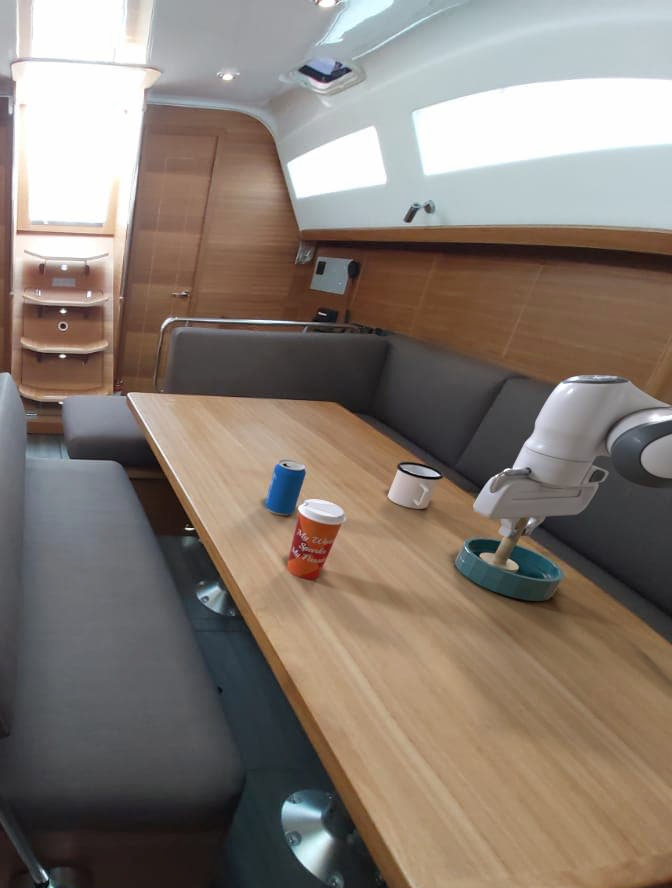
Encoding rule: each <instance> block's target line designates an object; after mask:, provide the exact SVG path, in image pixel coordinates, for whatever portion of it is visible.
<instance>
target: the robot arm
mask: <svg viewBox="0 0 672 888" xmlns="http://www.w3.org/2000/svg"><path fill="white" fill-rule="evenodd" d="M601 456H602V457H603V456H604V457H609V458H611V463H612V466H613V468H614V470H615V471H616V472H617V474H619V476H621V477H622V478H623V479H625V480H626V481H628V482H630V483H633V484H635V485H638V486H642V487H647V488H651V489H672V405H671V404H668V403H666V402H663V401H661V400H658V399H656V398H655V397H653V396H652V395H650V394H648V393H646V392H644V391H643V390H641V389H640V388H638V387H637V386H636V385H634V384H633V383H632V381H631V380H630V379H629V378H626V377H623V376H618V375H608V374H583V375H576V376H572V377H569V378H567V379H564V380H562V381H561V382H560V383H558V385H557V386H556V387H554V389H553V390H552V392H551V393H550V395H549V396H548V398H547V399H546V400H545V402H544V404H543V406H542V408H541V409H540V412H539V413H538V416H537V417H536V419H535V422H534V428H533V432H532V433H531V435H530V437H528V438H527V439H526V441H525V442H524V444H523V445H522V447H521V449H520V451H519V453H518V455H517V458H515V459H516V460H515V461H514V463H513V465H512V468H506V469H503V470H502V471H501V472H499V473H498V474H495V475H494V476H492V477H490V479H489V480H488V481H487V482H486V483H485V485H484V487H482V489H481V490H480V492H479V494H478V496H477V498H476V499H475V501H474V503H473V505H472V509H473V511H474V512H475V513H476V514H478V515H480V516H481V517H484V518H486V519H488V520H500V524H501V526H500V528H499V530H498V534H499V535H500V536H502V537H503V538H504V537H514V536H515V534H516V533H517V531H518V529H516V528H515V522H519V520H520V518H528V517H531V518H530V520H529V522H528V524H527V525H526V527H525V529H524V531H523V533H522V535H521V536H520V537H530V536H531V535H532V532H533V530H534V529H535V528H537V527H538V526H539V525H540V524H542V523H543V522H544V521H545V519H546V517H561V516H562V517H563V516H576V515H579V514H581V512H583V511H584V510H585V509H586V508H587V507H588V505H589V504H590V503H591V500H592V499H593V497H594V496H595V494H596V492H597V491H598V488H599V483H603V482H605V480H606V479H607V478H608V476H609V470H606V469H604V468H601V467H598V466H596V465H593V463H594V461H595V460H596V458H597V457H601Z"/></svg>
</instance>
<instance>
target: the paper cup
mask: <svg viewBox="0 0 672 888" xmlns="http://www.w3.org/2000/svg"><path fill="white" fill-rule="evenodd" d="M297 510H298V516H297V521H296V525H295V530H294V534H293V537H292V542H291V546H290V547H291V548H290V551H289V555H288V560H287V564H286V565H287V567H286V568H287V570H288V571H289V573H291V574H292V575H294V576H296V577H297V578H300V579H305V580H316V579H318V577H319V575H320V574H321V571H322V570H323V567H324V565H325V563H326V560H327V558H328V556H329V554H330V552H331V549H332V547H333V544H334V542H335V541H336V538H337V536H338V534H339V532H340V529H341V526H342V525H343V524H344V523H345V522H347V517H346V513H345V511H344V510H343V508H342V507H340V506H339V505H337V504H335V503H333V502H331V501H328V500H324V499H318V498H317V499H315V498H309V499H305V500H304V501H303V502H302V504H300V505H299V506H298V509H297Z"/></svg>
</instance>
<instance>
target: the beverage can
mask: <svg viewBox="0 0 672 888" xmlns="http://www.w3.org/2000/svg"><path fill="white" fill-rule="evenodd" d="M306 474H307V471H306V465H305V464H303V463H302V462H300V461H297V460H292V459H281V460H278V462H277V464H275V465H274V468H273V472H272V476H271V480H270V483H269V486H268V490H267V494H266V498H265V502H264V506H265V508H266V509H267V511H269V512H270V513H272V514H273V515H277V516H289V515H292V514H294V512H295V510H296V507H297V504H298V500H299V497H300V493H301V490H302V487H303V484H304V480H305V477H306Z"/></svg>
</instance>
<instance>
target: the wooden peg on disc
mask: <svg viewBox="0 0 672 888" xmlns="http://www.w3.org/2000/svg"><path fill="white" fill-rule="evenodd" d="M530 518H531V517H528V518H520V520H519V522H515V528H516V529H518V531H517V533H516V534H515V536H514V537H504V536H503V538H502V539H501V540H502V541H501V543H500V545H499V547H498V549H497V551H496V553H495V554H493V553H481V554H480V555H479V558H480V559H482V560H484V561H485V562H487V563H489V564H491V565H493V566H495V567H498V568H500V569H503V570H505V571H508V572H511V573H514V574H515V573H516V572H517V571H518V569H519V566H518V565H517V564H516V563H515V562H514V561H512V560H510V559H509V557H510V555H511V553H512V551H513V549H514V548H515V546H516V544H517V543H518V542H519V540H520V538H521V537H522V536H521V535H522V533H523V531H524V529H525V527H526V525H527V524H528V522H529V520H530ZM517 545H518V544H517Z"/></svg>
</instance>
